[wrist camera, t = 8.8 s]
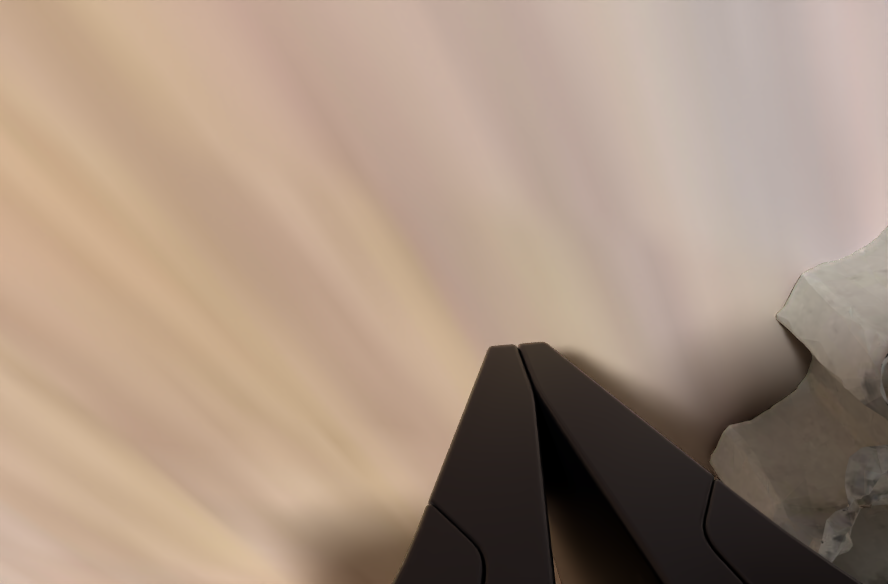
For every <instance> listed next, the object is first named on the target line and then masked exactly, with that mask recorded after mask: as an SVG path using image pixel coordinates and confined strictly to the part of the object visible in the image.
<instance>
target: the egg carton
mask: <svg viewBox="0 0 888 584" xmlns="http://www.w3.org/2000/svg"><path fill="white" fill-rule="evenodd" d="M776 316H777V320H778V321H779V322H780V323H781V324H783V325H784V326H785V327H786V328H787V329H788V330H790V331H791V332H792V333H793V334H794V335H795V336H796V338H797V339H798V340H799V341H801V342H802V343H803V344H805V346H806V347H807V348H808V349H809V350H810V351H811V354H812V361H811V364H810V367H809V370H808V373H807V375H806V376H805V377H804V379H803V380H802V381H801V383H800V384H799V385H798V386H797V390H795V391H794V392H792V393H791V394H790V395H788V396H787V397H785V398H784V399H783V400H781V401H779V402H778V403H776V404H774V405H773V406H772V407H771V409H769V410H766V411H764V412H763V413H761V414H760V415H758V416H757V417H755V418H754V419H752V420H751V421H745V422H741V423H737V424H732V425H729V426H728V427H727V428H726V429H725V430H724V432H723V433H722V435H721V437H720V439H719V442H718V444H717V447H716V449H715V450H714V451H713V454H711V459H710V464H711V465H712V467H713V469H714V470H715V472H716V473H717V475H718V476H719V478H720V479H721V481H722V482H723V483H724V484H725V485H727V486H728V487H729V488H730V489H732V490H733V491H734V492H736V493H737V494H738V495H739V496H741V497H742V498H743V499H744V500H746V501H747V502H748V503H750V504H751V505H752V506H754V507H755V508H756V509H758V510H759V511H760V512H762V513H763V514H764V515H766V516H767V517H768V518H770V519H771V520H772V521H773V522H775V523H776V524H777V525H779V526H780V527H781V528H783V529H784V530H786V531H787V532H788V533H790V534H791V535H793V536H794V537H796V538H797V539H799V540H800V541H801V542H803V543H804V544H806V545H807V546H809V547H810V548H811V549H813V550H814V551H816V552H817V553H819V554H820V555H822V556H823V557H824V558H826V559H827V560H829V561H830V562H832V563H833V564H835V565H836V566H838V567H839V568H841V569H842V570H844V571H845V572H847V573H848V574H850V575H851V576H853V577H854V578H856V579H857V580H859V581H860V582H862V583H863V584H888V226H887V227H886V228H885V229H884V231H883V232H882V233H881V234H880V235H879V236H878V237H877V238H876V239H875V240H873V241H872V242H871V243H870V244H868V245H867V246H865V247H863V248H861V249H859V250H858V251H856V252H854V253H853V254H851V255H849V256H847V257H844V258H842V259H840V260H836V261H831V262H826V263H822V264H820V265H818V266H816V267H814V268H812V269H809V270H807V271H806V272H804V273H803V274H802V275H801V277H800V278H799V280H798V281H797V283H796V285H795V286H794V288H793V291H792V293H791V294H790V296H789V298H788V300H787V302H786V304H785V306H784V307H783V308H782V309H781V310H780V311H779V312H778V313H777V315H776Z"/></svg>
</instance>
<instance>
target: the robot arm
mask: <svg viewBox="0 0 888 584" xmlns="http://www.w3.org/2000/svg"><path fill="white" fill-rule="evenodd" d="M428 504H429V505H427V506H426V508H425V511H424V513H423V516H422V518H421V521H420V523H419V526H418V529H417V531H416V533H415V536H414V538H413V540H412V542H411V545H410V547H409V549H408V552H407V554H406V556H405V558H404V561H403V563H402V565H401V567H400V569H399V571H398V573H397V575H396V577H395V579H394V581H393V583H392V584H556V583H555V573H554V564H553V557H554V560H555V563H556V567H557V570H558V573H559V576H560V580H561V583H562V584H863V583H862V582H860V581H859V580H857V579H856V578H854V577H853V576H851V575H850V574H848V573H847V572H845V571H844V570H842V569H841V568H839V567H838V566H836V565H835V564H833V563H832V562H830V561H829V560H827V559H826V558H824V557H823V556H822V555H820V554H819V553H817V552H816V551H814V550H813V549H811V548H810V547H809V546H807V545H806V544H804V543H803V542H801V541H800V540H799V539H797V538H796V537H794V536H793V535H791V534H790V533H788V532H787V531H786V530H784V529H783V528H781V527H780V526H779V525H777V524H776V523H775V522H773V521H772V520H771V519H770V518H768V517H767V516H766V515H764V514H763V513H762V512H760V511H759V510H758V509H756V508H755V507H754V506H752V505H751V504H750V503H748V502H747V501H746V500H744V499H743V498H742V497H741V496H739V495H738V494H737V493H736V492H734V491H733V490H732V489H730V488H729V487H728V486H727V485H725V484H724V483H723V482H722V481H720V480H718V479H716V480H714V476H713V475H712V474H711V473H710V472H709V471H707V470H706V469H705V468H704V467H702V466H701V465H700V464H699V463H697V462H696V461H695V460H694V459H692V458H691V457H690V456H689V455H687V454H686V453H685V452H683V451H682V450H681V449H680V448H678V447H677V446H676V445H675V444H673V443H672V442H671V441H670V440H668V439H667V438H666V437H665V436H663V435H662V434H661V433H660V432H658V431H657V430H656V429H654V428H653V427H652V426H651V425H649V424H648V423H647V422H646V421H644V420H643V419H642V418H641V417H639V416H638V415H637V414H636V413H634V412H633V411H632V410H631V409H629V408H628V407H627V406H625V405H624V404H623V403H622V402H620V401H619V400H618V399H617V398H615V397H614V396H613V395H612V394H610V393H609V392H608V391H607V390H605V389H604V388H603V387H602V386H600V385H599V384H598V383H596V382H595V381H594V380H593V379H591V378H590V377H589V376H588V375H586V374H585V373H584V372H583V371H581V370H580V369H579V368H578V367H576V366H575V365H574V364H573V363H571V362H570V361H569V360H567V359H566V358H565V357H564V356H562V355H561V354H560V353H559V352H557V351H556V350H555V349H554V348H552V347H551V346H550V345H549V344H547V343H545V342H534V343H523V344H520V345H519V346H518V348H517V347H516V346H515V345H512V344H511V345H499V346H491V347H489V349H488V350H487V353H486V355H485V358H484V361H483V363H482V366H481V368H480V371H479V373H478V376H477V378H476V381H475V384H474V386H473V389H472V391H471V394H470V396H469V399H468V402H467V404H466V407H465V409H464V412H463V414H462V417H461V419H460V422H459V425H458V427H457V430H456V432H455V435H454V437H453V440H452V442H451V445H450V448H449V450H448V453H447V455H446V458H445V460H444V463H443V466H442V468H441V471H440V473H439V476H438V478H437V481H436V483H435V486H434V489H433V491H432V494H431V496H430V499H429V502H428ZM552 554H553V555H552Z"/></svg>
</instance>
